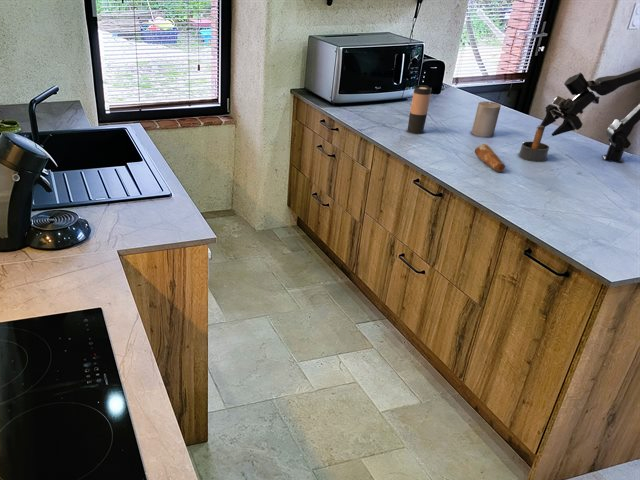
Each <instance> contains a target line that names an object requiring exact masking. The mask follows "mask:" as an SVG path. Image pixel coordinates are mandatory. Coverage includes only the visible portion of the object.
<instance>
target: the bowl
mask: <svg viewBox="0 0 640 480" xmlns="http://www.w3.org/2000/svg"><path fill="white" fill-rule="evenodd" d="M532 144H533V141H524V142H522V143H521V146H520V150H519V153H518V157H519V158H520V159H523V160H526V161H530V162H544V161H546V160H547V157H548V153H549V150H550V145H548V144H546V143H543V142H540V146H539V149H532V148H531V147H532Z"/></svg>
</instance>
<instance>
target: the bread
mask: <svg viewBox="0 0 640 480" xmlns="http://www.w3.org/2000/svg"><path fill="white" fill-rule="evenodd" d="M474 153H475V156H476V157H477V158H478V159H479V160H480V161H482V162H483V163H484V164H486V165H487V166H488V167H489V168H491V169H492V170H494V171H495V172H497V173H501V172H504V170H505V168H506V165H505V163H503V161H502V160H501V159H500V158H499V156H498V155H497V154H496V152H495V151H494V150H493V148H491V146H489V145H488V144H486V143H483V144H481V145H479V146H477V147H475V150H474Z"/></svg>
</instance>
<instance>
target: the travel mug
mask: <svg viewBox="0 0 640 480" xmlns="http://www.w3.org/2000/svg"><path fill="white" fill-rule="evenodd" d="M431 95H432V87H429V86H428V85H424V84H418V85H415V86H414V89H413V93H412V99H411V104H410V110H409V116H408V122H407V123H408V124H407V132H408V133H410V134H414V135H415V134H417V135H420V134H423V133H424V129H425V125H426V120H427V116H428V112H429V105H430V100H431Z"/></svg>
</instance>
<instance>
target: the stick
mask: <svg viewBox="0 0 640 480" xmlns="http://www.w3.org/2000/svg"><path fill="white" fill-rule="evenodd" d="M545 130H546V127H545V126H541V125H540V124H539V125H537V127H536V130H535V134H534V137H533V140H532V142H533V144H532V147H531V148H532V149H539V146H540V143H542V140H543V139H542V138H543V135H544V132H545Z"/></svg>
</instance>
